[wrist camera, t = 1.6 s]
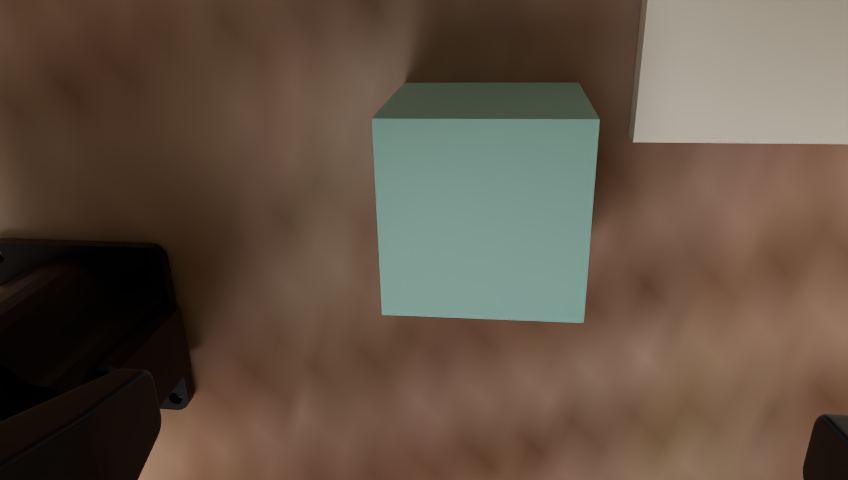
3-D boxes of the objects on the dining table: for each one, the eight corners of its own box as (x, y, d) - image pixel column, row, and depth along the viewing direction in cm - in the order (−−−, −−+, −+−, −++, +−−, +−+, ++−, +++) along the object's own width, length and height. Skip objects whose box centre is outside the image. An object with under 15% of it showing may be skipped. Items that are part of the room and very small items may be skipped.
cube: (410, 239, 21) (382, 314, 17) (404, 82, 19) (371, 118, 15) (567, 243, 21) (583, 323, 16) (578, 81, 19) (599, 119, 14)
